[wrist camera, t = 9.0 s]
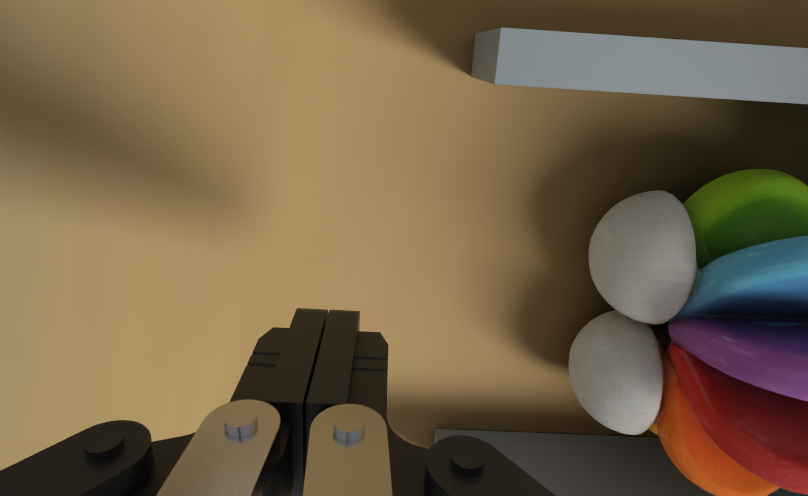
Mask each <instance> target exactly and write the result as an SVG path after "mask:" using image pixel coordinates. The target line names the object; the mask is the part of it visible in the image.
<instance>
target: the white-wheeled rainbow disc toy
mask: <svg viewBox="0 0 808 496" xmlns="http://www.w3.org/2000/svg"><path fill="white" fill-rule="evenodd" d="M589 268H590V273H591V276H592V279H593V282H594V284H595V286H596V288H597V289H598V291H599V293H600V294H601V295H602V297H603V298H604V299H605V300H606V301H607V302H608V303H609V304H610V305H611V306H612V307H613V308H614V309H616V310H614V311H610V312H607V313H604V314H602V315H600V316H597V317H596V318H594V319H592V320H591V321H590V322H589V323H587V324H586V325H585V326H584V327H583V328H582V329H581V331H580V332H579V333H578V335H577V336H576V338H575V340H574V342H573V344H572V346H571V350H570V355H569V376H570V382H571V386H572V389H573V392H574V394H575V396H576V398H577V399H578V401H579V402H580V404H581V405H582V406H583V408H584V409H585V410H586V411H587V412H588V413H589V414H590V415H591V416H592V417H593V418H594V419H595V420H597V421H598V422H599V423H601V424H602V425H604V426H606V427H608V428H610V429H612V430H615V431H617V432H621V433H624V434H629V435H637V434H641V433H643V432H645V431H646V430H647V429H650V430H651V431H652V432H654V433H655V434H657V435H658V436H659V438H660V440H661V443H662V445H663V447H664V449H665V451H666V453H667V455H668V456H669V458H670V459H671V460H672V462H673V463H674V465H675V466H676V467H677V469H678V470H679V471H680V472H681V473H682V474H683V475H684V476H685V477H686V478H688V479H689V480H690V481H691V482H693V483H694V484H696V485H697V486H699V487H700V488H702V489H703V490H705V491H707V492H709V493H711V494H713V495H716V496H766V495H768V494H770V493H772V492H774V491H776V490H777V489H779V488H782V489H785V490H788V491H791V492H795V493H800V494H806V495H808V186H807V185H806V184H805V183H803V182H802V181H800V180H798V179H797V178H795V177H793V176H790V175H788V174H786V173H783V172H781V171H776V170H771V169H747V170H740V171H736V172H732V173H729V174H726V175H724V176H721V177H719V178H717V179H715V180H713V181H711V182H709V183H708V184H706V185H704V186H703V187H701V188H700V189H699V190H698V191H696V192H695V193H694V194H693V195H691V196H690V197H689V198H688V199H687V200H686V201H685V202H684V203H683V204H682V203H681V202H680V201H679V200H678V199H677V198H676V197H675V196H674V195H672V194H670V193H668V192H666V191H659V190H655V191H647V192H642V193H639V194H636V195H633V196H630V197H628V198H626V199H624V200H622V201H621V202H619V203H618V204H616V205H615V206H613V207H612V208H611V209H610V210H609V211H608V212H607V213H606V214H605V215H604V216H603V217H602V219H601V220H600V222H599V223H598V224H597V226H596V228H595V230H594V232H593V235H592V237H591V241H590V246H589ZM668 320H669V324H663V323H665V322H667V321H668ZM649 323H650V324H659V325H654V326H650V324H649Z"/></svg>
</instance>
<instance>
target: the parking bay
mask: <svg viewBox="0 0 808 496" xmlns="http://www.w3.org/2000/svg"><path fill="white" fill-rule="evenodd" d="M471 77H474V78H477V79H480V80H483V81H486V82H489V83H492V84H498V85H513V86H529V87H545V88H561V89H576V90H592V91H608V92H623V93H639V94H655V95H670V96H686V97H702V98H718V99H733V100H749V101H765V102H780V103H796V104H808V48H797V47H783V46H768V45H753V44H738V43H723V42H709V41H694V40H679V39H664V38H650V37H635V36H620V35H605V34H590V33H576V32H561V31H546V30H531V29H516V28H502V27H501V28H497V29H492V30H488V31H484V32H480V33H475V41H474V51H473V61H472V71H471ZM456 435H464V436H471V437H475V438H478V439H481V440H483V441H485V442H487V443H489V444H491V445H492V446H493V447H495V448H496V449H497V450H499V451H500V452H501V453H502V454H504V455H505V456H506V457H507V458H509V459H510V460H511V461H513V462H514V463H515V464H516V465H518V466H519V467H520V468H521V469H523V470H524V471H525V472H526V473H528V474H529V475H530V476H531V477H533V478H534V479H535V480H537V481H538V482H539V483H540V484H542V485H543V486H544V487H545V488H547V489H548V490H549V491H550V492H552V493H553V494H554V495H555V496H716V495H713V494H711V493H709V492H707V491H705V490H703V489H702V488H700V487H699V486H697V485H696V484H694V483H693V482H691V481H690V480H689V479H688V478H686V477H685V476H684V475H683V474H682V473H681V472H680V471H679V470H678V469H677V467H676V466H675V465H674V463H673V462H672V460H671V459H670V458H669V456H668V455H667V453H666V451H665V449H664V447H663V445H662V443H661V440H660V438H655V437H630V436H605V435H580V434H555V433H530V432H505V431H480V430H455V429H435V437H434V444H435V443H436V442H437V441H439V440H441V439H443V438H446V437H449V436H456ZM766 496H808V495H806V494H800V493H795V492H791V491H788V490H785V489H782V488H779V489H777V490H776V491H774V492H772V493H770V494H768V495H766Z"/></svg>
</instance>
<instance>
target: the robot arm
mask: <svg viewBox="0 0 808 496" xmlns="http://www.w3.org/2000/svg"><path fill="white" fill-rule="evenodd" d="M359 323H360V311H345V310H329V314H328V310H323V309H303V308H297V310H296V312H295V315H294V317H293V320H292V323H291V325H290V328H274V327H273V328H272V329H271V330H269V331H268V332H267V333H266V334H264V335H263V336H262V337H260V338H259V340H258V342H257V344H256V346H255V348H254V351H253V355H251V357H250V359H249V361H248V365H247V366H246V368H245V370H244V372H243V374H242V376H241V379H240V381H239V383H238V385H237V387H236V389H235V392H234V394H233V396H232V398H231V400H230V402H229V403H226V404H224V405H222V406H220V407H218V408H216V409H215V410H213V411H212V412H210V413H209V414H208V415H207V416H206V418H205V419H204V420H203V422H202V423H201V425H200V427H199V428H198V430H197V431H196V432H195V433H192V434H189V435H185V436H181V437H176V438H170V439H165V440H159V441H154V442H152V441H151V434H150V432H149V430H148V429H147V428H146V427H145V426H144V425H142V424H140V423H137V422H134V421H127V420H118V421H110V422H105V423H101V424H98V425H95V426H92V427H90V428H88V429H85V430H83V431H81V432H79V433H77V434H75V435H73V436H71V437H69V438H67V439H65V440H63V441H61V442H59V443H57V444H55V445H53V446H50V447H48V448H46V449H44V450H42V451H40V452H38V453H36V454H34V455H32V456H30V457H28V458H26V459H24V460H22V461H20V462H18V463H16V464H13V465H11V466H9V467H7V468H5V469H3V470H1V471H0V496H555V495H554V494H553V493H552V492H550V491H549V490H548V489H547V488H545V487H544V486H543V485H542V484H540V483H539V482H538V481H537V480H535V479H534V478H533V477H531V476H530V475H529V474H528V473H526V472H525V471H524V470H523V469H521V468H520V467H519V466H518V465H516V464H515V463H514V462H513V461H511V460H510V459H509V458H507V457H506V456H505V455H504V454H502V453H501V452H500V451H499V450H497V449H496V448H495V447H493V446H492V445H491V444H489V443H487V442H485V441H483V440H481V439H478V438H475V437H471V436H464V435H456V436H449V437H446V438H443V439H441V440H439V441H437V442H436V443H435V444H434V445H433V446H432V447H431V448H430V450H429V449H426V448H422V447H419V446H416V445H413V444H410V443H408V442H406V441H404V440H403V439H401V438H400V437H399V436H397V435H396V434H395V433H394V432H393V430H392V429H391V428H390V426H389V424H388V421H387V416H386V409H387V370H388V344H387V342H386V341H385V339H384V338H383V336H382V335H381V333H380V332H359Z"/></svg>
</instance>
